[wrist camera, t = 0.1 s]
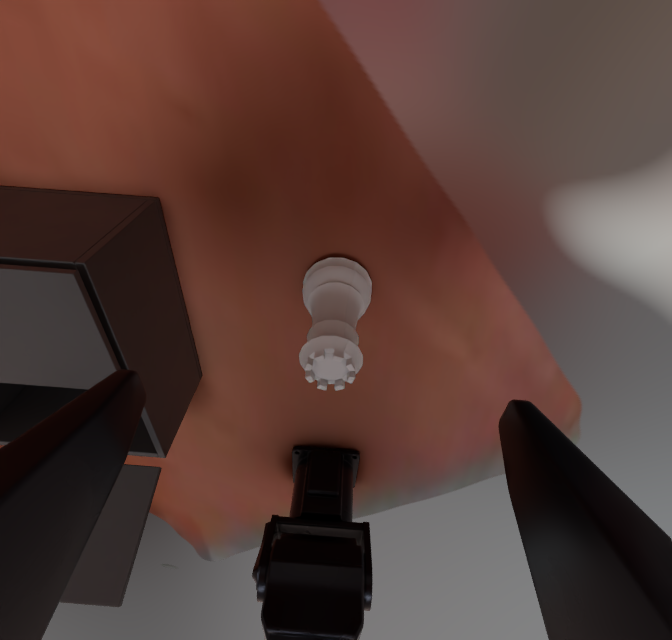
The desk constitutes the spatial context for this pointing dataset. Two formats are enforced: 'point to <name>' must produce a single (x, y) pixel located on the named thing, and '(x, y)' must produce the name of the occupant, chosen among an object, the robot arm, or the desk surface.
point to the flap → (114, 540)
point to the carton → (90, 309)
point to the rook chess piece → (334, 321)
